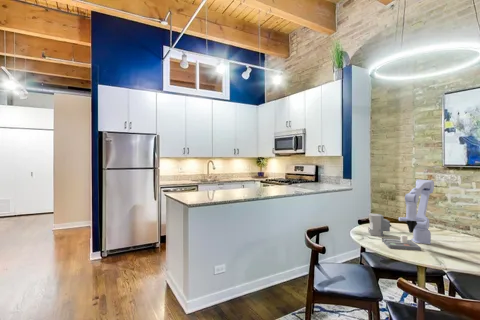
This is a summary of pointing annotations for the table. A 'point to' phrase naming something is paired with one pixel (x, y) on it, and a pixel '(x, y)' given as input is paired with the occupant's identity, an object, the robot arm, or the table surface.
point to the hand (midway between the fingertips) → (411, 232)
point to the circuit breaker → (378, 225)
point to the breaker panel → (401, 244)
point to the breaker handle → (403, 238)
